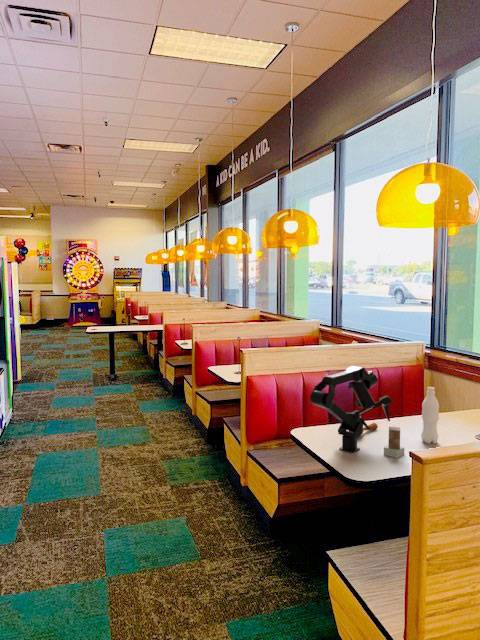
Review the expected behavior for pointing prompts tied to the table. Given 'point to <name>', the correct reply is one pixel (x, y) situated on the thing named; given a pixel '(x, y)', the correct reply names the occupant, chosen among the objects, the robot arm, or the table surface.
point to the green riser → (394, 452)
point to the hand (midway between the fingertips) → (379, 426)
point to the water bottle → (430, 417)
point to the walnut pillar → (394, 438)
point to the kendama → (371, 426)
